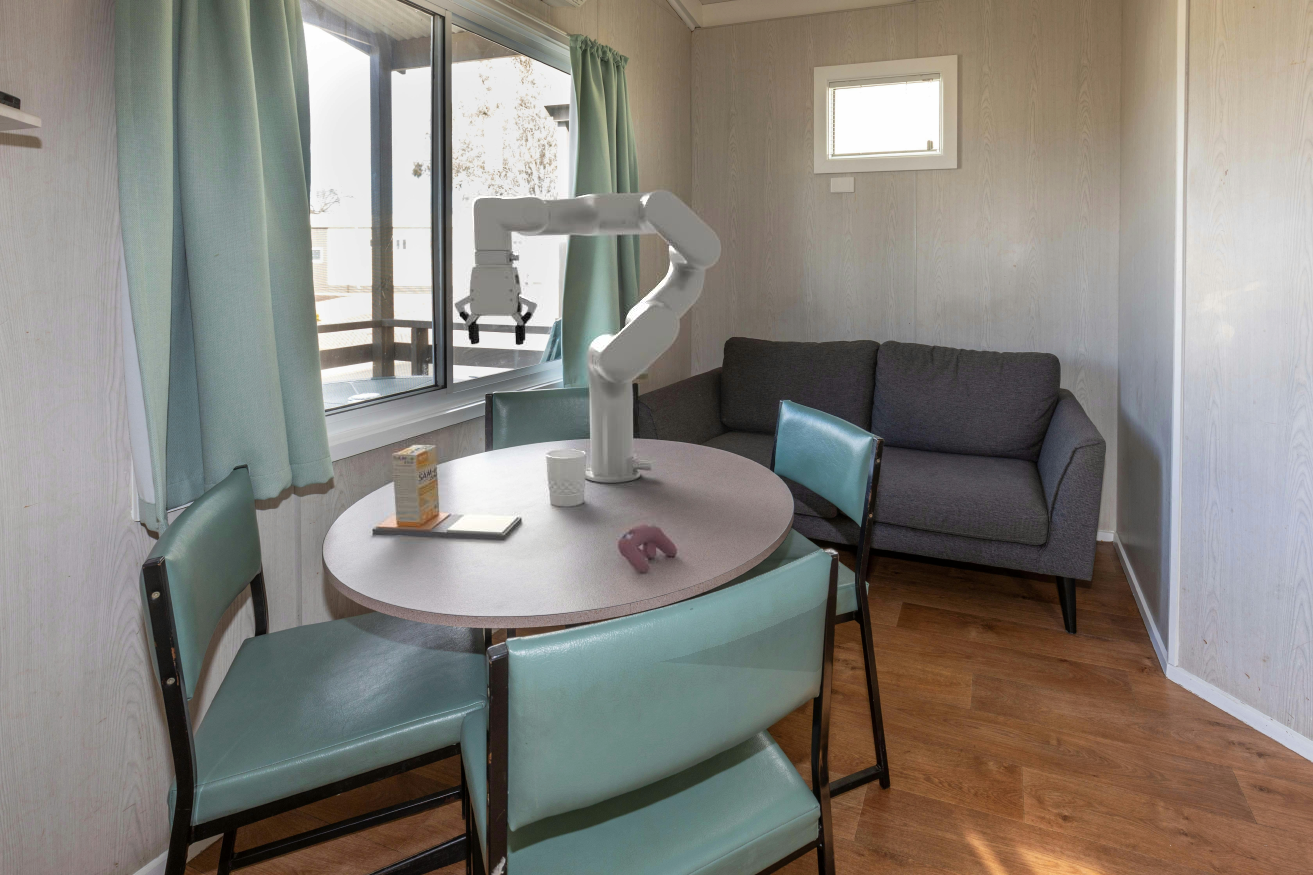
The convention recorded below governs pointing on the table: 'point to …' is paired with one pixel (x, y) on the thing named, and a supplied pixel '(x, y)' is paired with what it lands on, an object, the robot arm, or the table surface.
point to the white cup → (566, 476)
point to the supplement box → (415, 485)
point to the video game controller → (644, 545)
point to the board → (455, 527)
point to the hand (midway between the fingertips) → (497, 344)
